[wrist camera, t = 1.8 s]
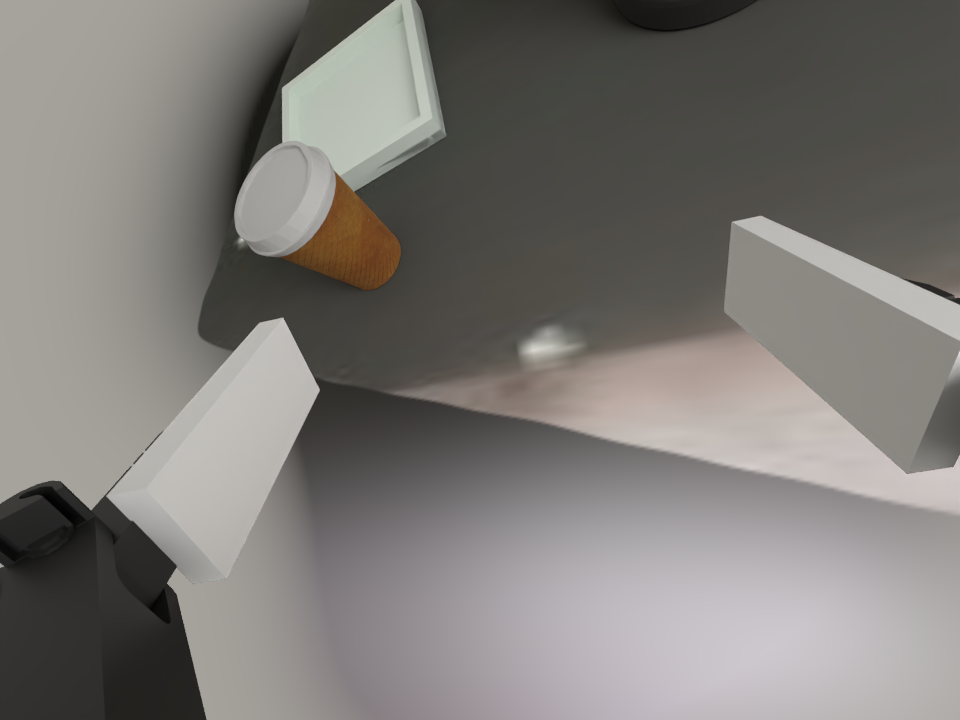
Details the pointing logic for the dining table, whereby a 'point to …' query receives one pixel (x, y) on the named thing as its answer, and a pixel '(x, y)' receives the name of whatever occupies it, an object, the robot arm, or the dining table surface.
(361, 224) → the disposable coffee cup
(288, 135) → the tray
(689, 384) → the dining table surface
